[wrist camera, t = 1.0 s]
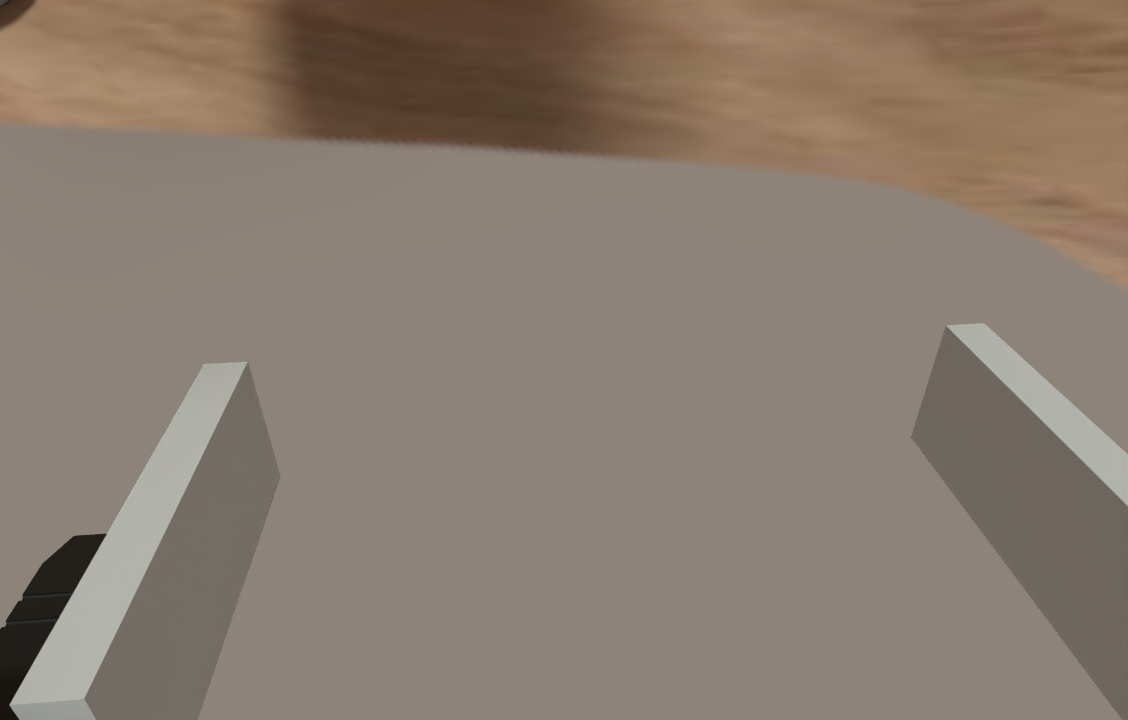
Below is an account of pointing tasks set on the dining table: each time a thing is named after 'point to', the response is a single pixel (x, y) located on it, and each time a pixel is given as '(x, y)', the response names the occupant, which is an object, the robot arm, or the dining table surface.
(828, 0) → the dining table surface
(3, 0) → the coaster
